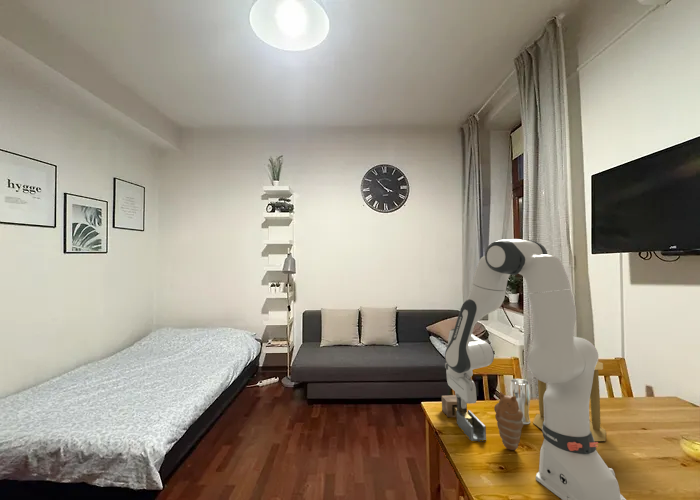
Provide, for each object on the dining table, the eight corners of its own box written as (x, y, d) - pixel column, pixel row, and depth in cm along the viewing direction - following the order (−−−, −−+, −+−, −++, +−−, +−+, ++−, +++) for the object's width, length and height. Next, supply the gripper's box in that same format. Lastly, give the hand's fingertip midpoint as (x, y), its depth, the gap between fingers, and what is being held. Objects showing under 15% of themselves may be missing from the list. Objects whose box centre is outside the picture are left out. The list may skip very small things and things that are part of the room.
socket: (467, 416, 137) (466, 401, 137) (447, 417, 136) (447, 402, 136) (460, 409, 143) (460, 394, 144) (442, 410, 143) (441, 395, 143)
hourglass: (539, 438, 119) (537, 365, 120) (527, 411, 141) (524, 350, 142) (620, 448, 112) (616, 370, 113) (594, 418, 134) (591, 353, 135)
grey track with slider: (486, 441, 118) (485, 426, 118) (471, 441, 117) (471, 427, 118) (470, 423, 131) (469, 410, 131) (456, 424, 130) (456, 410, 131)
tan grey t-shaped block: (472, 426, 126) (471, 404, 126) (464, 426, 126) (463, 405, 126) (457, 410, 140) (457, 390, 140) (450, 410, 140) (450, 391, 140)
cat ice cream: (491, 448, 113) (490, 393, 114) (503, 440, 118) (501, 387, 119) (519, 459, 106) (516, 401, 107) (529, 450, 111) (527, 394, 112)
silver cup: (535, 425, 129) (533, 384, 129) (516, 425, 129) (515, 384, 129) (525, 416, 136) (524, 378, 136) (508, 416, 136) (506, 378, 136)
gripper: (480, 378, 123) (481, 417, 122) (458, 361, 143) (459, 395, 142) (463, 379, 122) (464, 418, 122) (443, 362, 142) (444, 396, 142)
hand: (461, 405), depth 132 cm, fingers closed on tan grey t-shaped block, 2 cm apart
